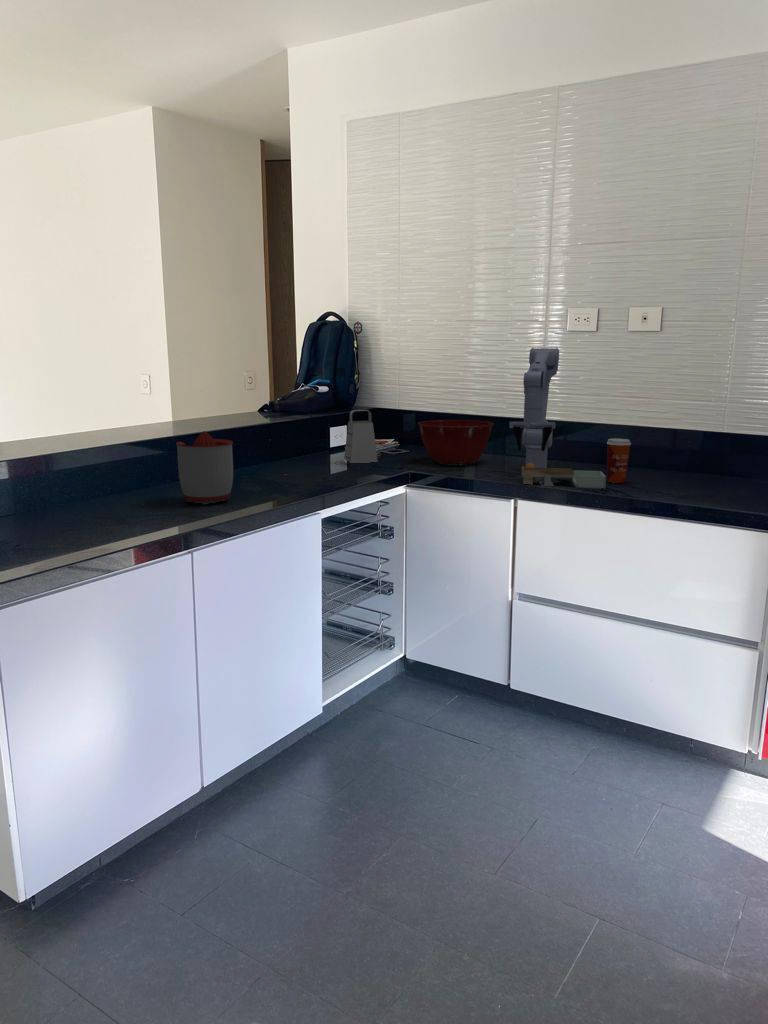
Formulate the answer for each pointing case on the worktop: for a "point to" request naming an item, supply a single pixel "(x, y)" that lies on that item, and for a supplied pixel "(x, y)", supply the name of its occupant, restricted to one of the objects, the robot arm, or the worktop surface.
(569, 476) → the wooden ramp
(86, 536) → the worktop surface
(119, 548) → the worktop surface
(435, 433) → the mixing bowl
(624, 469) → the paper cup
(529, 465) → the ball
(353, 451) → the grater
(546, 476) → the stand
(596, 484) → the tray
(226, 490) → the citrus juicer
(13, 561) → the worktop surface
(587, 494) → the worktop surface
